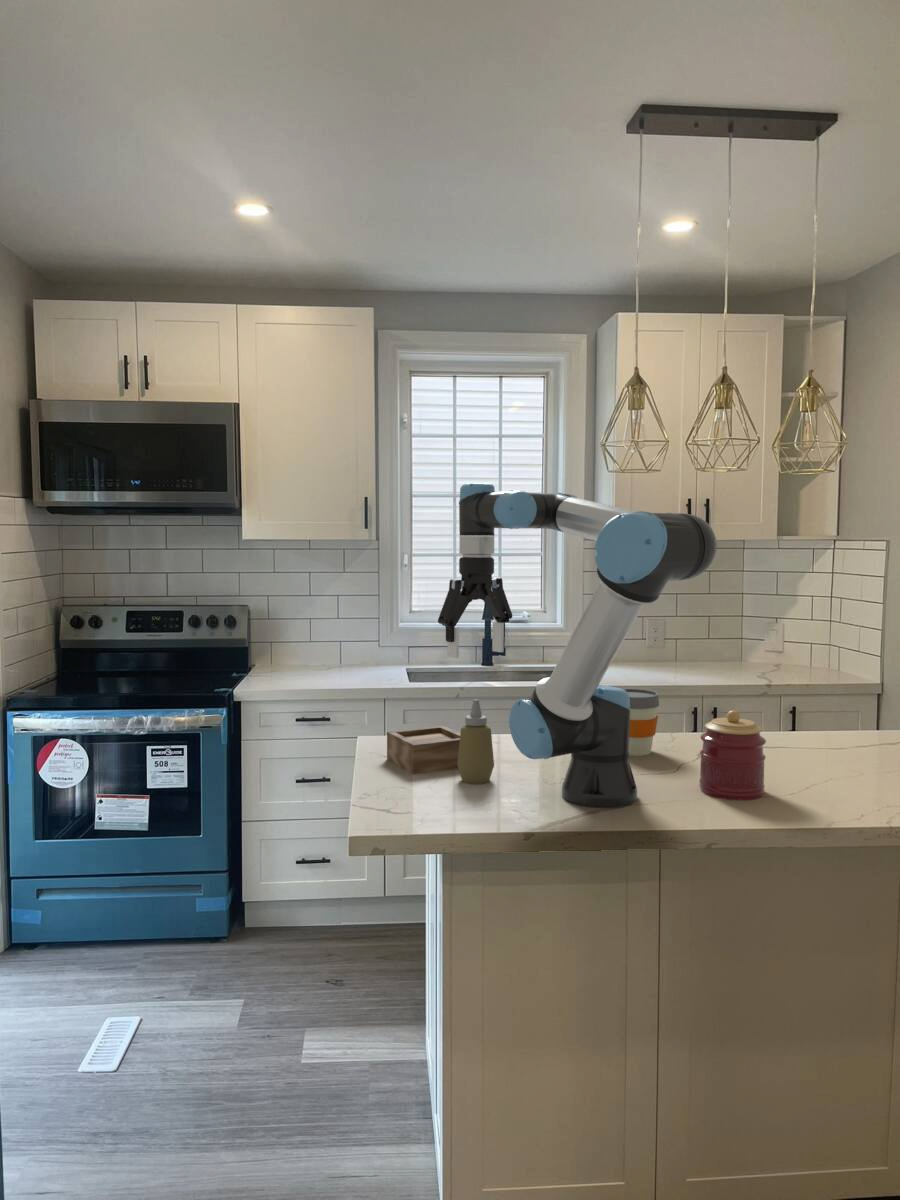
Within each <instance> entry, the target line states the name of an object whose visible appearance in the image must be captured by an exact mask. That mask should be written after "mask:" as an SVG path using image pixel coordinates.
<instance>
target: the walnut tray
mask: <svg viewBox="0 0 900 1200" xmlns="http://www.w3.org/2000/svg"><path fill="white" fill-rule="evenodd" d="M460 734H461V732H459V731H457V730H454V729H451V728H449V727H447V726H445V725H438V726H430V727H429V726H427V727H421V728H420V727H419V728H410V729H409V728H408V729H400V730H390V731H387V732H386V748H387V749H386V760H387V761H388V762H390V763H393V764H394V765H396V766H398V767H400V768H401V769H403V770H405V771H407V772H408V773H410V774H412V775H419V774H426V773H428V774H429V773H434V772H440V771H441V772H442V770H443V771H450V770H454V769H453V768H457V769H458V766H457V762H458V753H459V743H460ZM449 769H450V770H449Z"/></svg>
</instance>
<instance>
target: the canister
mask: <svg viewBox="0 0 900 1200" xmlns="http://www.w3.org/2000/svg"><path fill="white" fill-rule="evenodd" d="M704 728H705V729H706V731H705V732H703V733H701V734H700V739H701V740H702V749H701V750H700V751H699V754H700V771H699V772H700V775H699V777H700V778H699V783H698V785H699V789H700V791H701V792H702V793H703V794H705V795H706V796H709V797H713V798H717V799H723V800H728V801H729V800H730V801H751V800H757V799H760V798H763V796H764V792H765V786H766V785H765V760H766V755H765V753H764V745H765V744H766V743H767V739H766V738H764V737H763V736H762V735H761V732H762V731H763V729H762V727H761V726H759V725H757V723H755V722H754V721H753V720H749V719H745V718H741V716H740V713H739V711H737V710H735V709H734V710H729V711H728V712H727V714H726V717H716V718H713V719H711V721H708V722H706V723H705V725H704Z"/></svg>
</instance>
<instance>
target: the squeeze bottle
mask: <svg viewBox="0 0 900 1200" xmlns="http://www.w3.org/2000/svg"><path fill="white" fill-rule="evenodd" d="M487 719H488V717H487V716H486V715H484V714H482V710H481V704H480V700H479V699H473V700H472V704H471V710H470V713H469V714H467V715H466V716H465V718H464V720H465V721H464V723H465V725H463V726H462V727H461V728H460V733H461V734H460V743H459V753H458V762H457V766H458V768H457V769H458V771H459V774H460V775H459V776H460V777H461V780H462V782H463V783H465V784H471V785H479V784H482V785H483V784H486V783H488V782H489V781H490V780H491V779H490V778H491V776H492V773H493V770H494V768H495V760H494V749H493V739H492V737H493V736H492V729H491V727H490V726H488V725H487V724H488V723H487V722H488V720H487Z"/></svg>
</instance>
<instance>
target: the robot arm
mask: <svg viewBox="0 0 900 1200" xmlns="http://www.w3.org/2000/svg"><path fill="white" fill-rule="evenodd" d="M459 490H460V491H459V501H458V507H459V509H458V511H459V513H458V515H459V516H458V517H459V518H458V519H459V523H458V524H459V530H458V531H459V538H458V539H459V543H458V544H459V547H458V548H459V553H458V554H459V555H461V556H460V557H459V559H458V572H459V574H460V575H461V579H452V578H451V579H449V585H448V592H447V594H446V597H445V599H444V602H443V604H442V608H441V611H440V613H439V616H438V618H437V622H438V624H440V625H441V626H443V627H445V641H446V643H447V658H453V659H459V658H460V627H459V626H457V624H458V623H459V621H460V620H461V618H462V616H463V614H464V612H465V611H466V609H467V608H468V605H469V604H470V603H472V602H473V601H477V600H482V602H483V603H484V605H486V607H487V609H488V610H489V612H490V614H491V615H492V617H493V619H494V620H495V621H492V643H491V644H492V645H491V647H492V652H494V653H495V652H497V653H504V645H505V644H504V638H505V637H506V636H505V635H506V623H509V622H510V619H512V618H513V613H512V610H511V607H510V604H509V601H508V598H507V596H506V592H505V590H504V586H503V585H504V584H503V578H501V577H492V575H493V574H495V558H494V557H492V555H494V554H495V529H510V530H513V529H514V530H515V529H517V530H518V529H536V530H537V529H543V530H545V529H546V530H547V529H548V530H553V531H558V532H562V533H566V534H570V535H573V536H577V537H581V538H584V539H588V540H592V541H596V542H595V546H594V551H596V555H594V560H595V564H596V566H597V568H596V571H595V573H596V576H597V578H598V581H599V583H598V584H597V586H596V588H595V590H594V592H593V594H592V596H591V597H590V600H589V602H588V604H587V605H586V608H585V609H584V611H583V613H582V615H581V617H580V618H579V621H578V623H577V625H576V627H575V629H574V631H573V633H572V634H571V636H570V638H569V640H568V642H567V644H566V646H565V648H564V650H563V651H562V653H561V655H560V657H559V659H558V661H557V663H556V665H555V667H554V669H553V671H552V673H551V674H550V676H548V677H544V678H542V679H540V680H539V681H538V682H537V683H536V686H535V687H534V690H533V692H532V694H531V695H530V697H528V698H521V699H520V700H517V701H516V702H514V703H513V704H512V705H511V708H510V711H509V714H508V715H509V717H508V727H509V729H510V736H511V738H512V741H513V742H514V743H513V744H514V745H515V747H516V748H517V749H518V751H520V753H521V754H522V755H524V757H526V758H528V759H530V760H531V759H532V760H542V759H544V760H548V759H550V758H554V757H555V758H556V757H560V756H564V755H569V754H571V756H570V761H569V765H568V766H567V770H566V773H565V777H564V780H563V782H562V784H561V785H562V786H561V796H562V798H563V799H564V800H565V801H566V802H569V803H571V804H574V805H577V806H581V807H588V808H595V809H596V808H597V809H614V808H615V809H617V808H623V807H628V806H631V805H633V804H635V803H636V802H637V801H638V787H637V784H636V779H635V777H634V774H633V771H632V767H631V765H630V764H631V763H630V756H629V736H630V711H631V709H630V697H629V694H628V693H627V691H625V690H624V689H625V688H620V687H617V686H616V687H615V686H612V685H611V686H609V685H603V684H600V683H601V682H602V680H603V678H604V676H605V674H606V673H607V670H608V669H609V668H610V665H611V664H612V662H613V660H614V658H615V657H616V655H617V653H618V651H619V650H620V648H621V647H622V644H623V642H624V641H625V639H626V637H627V636H628V634H629V632H630V630H631V629H632V626H633V625H634V623H635V621H636V620H637V618H638V616H639V615H640V613H641V611H642V609H643V607H644V606H646V605H651V604H654V603H655V602H656V601H657V600H658V599H659V597H660V595H661V593H663V592H662V591H663V590H664V589H665V587H666V585H667V584H668V583H669V582H670V581H671V582H673V581H686V580H692V579H693V578H696V577H698V576H700V575H702V574H703V573H704V572H705V571H707V570H708V569H709V567H710V566H711V564H713V561H714V560H715V557H716V553H717V548H718V547H717V545H718V543H717V538H716V534H715V531H714V530H713V528H712V526H711V525H709V523H708V522H707V521H706V520H704V519H703V518H701V517H699V516H696V515H694V514H689V513H679V512H678V513H675V512H674V513H673V512H661V513H660V512H659V513H658V512H649V511H644V510H641V511H637V510H632V509H627V508H624V507H620V506H619V507H618V506H615V505H611V504H605V503H602V502H601V503H600V502H596V501H592V500H587V499H582V498H579V497H577V496H576V495H574V494H570V493H566V492H564V493H563V492H557V493H555V492H554V493H548V492H546V493H545V492H532V491H531V492H528V491H525V490H518V489H517V490H513V489H511V490H506V491H497V492H496V489H495V485H494V484H491V483H484V482H483V483H481V482H479V483H478V482H477V483H464V484H463V485H461V487H460V489H459Z"/></svg>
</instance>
